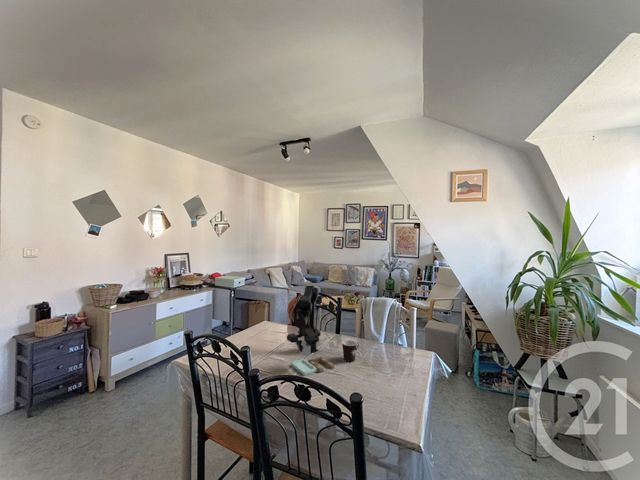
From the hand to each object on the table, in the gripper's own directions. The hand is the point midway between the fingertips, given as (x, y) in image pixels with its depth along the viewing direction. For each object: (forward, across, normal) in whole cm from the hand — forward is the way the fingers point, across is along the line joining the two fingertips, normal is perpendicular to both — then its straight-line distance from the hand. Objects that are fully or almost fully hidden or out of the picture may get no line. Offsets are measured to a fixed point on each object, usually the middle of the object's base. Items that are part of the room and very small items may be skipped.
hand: (304, 350), depth 153 cm
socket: (+10, +9, -3) cm, 14 cm away
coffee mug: (+10, +29, -6) cm, 32 cm away
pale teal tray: (+10, 0, 0) cm, 10 cm away
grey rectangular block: (+1, 0, 0) cm, 1 cm away
